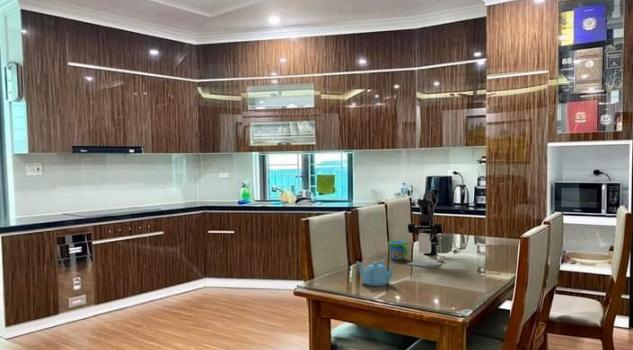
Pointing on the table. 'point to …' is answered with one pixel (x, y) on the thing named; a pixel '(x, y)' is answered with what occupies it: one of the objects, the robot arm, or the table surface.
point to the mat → (424, 264)
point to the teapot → (375, 274)
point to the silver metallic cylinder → (440, 259)
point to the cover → (424, 243)
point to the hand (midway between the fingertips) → (424, 240)
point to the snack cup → (397, 249)
